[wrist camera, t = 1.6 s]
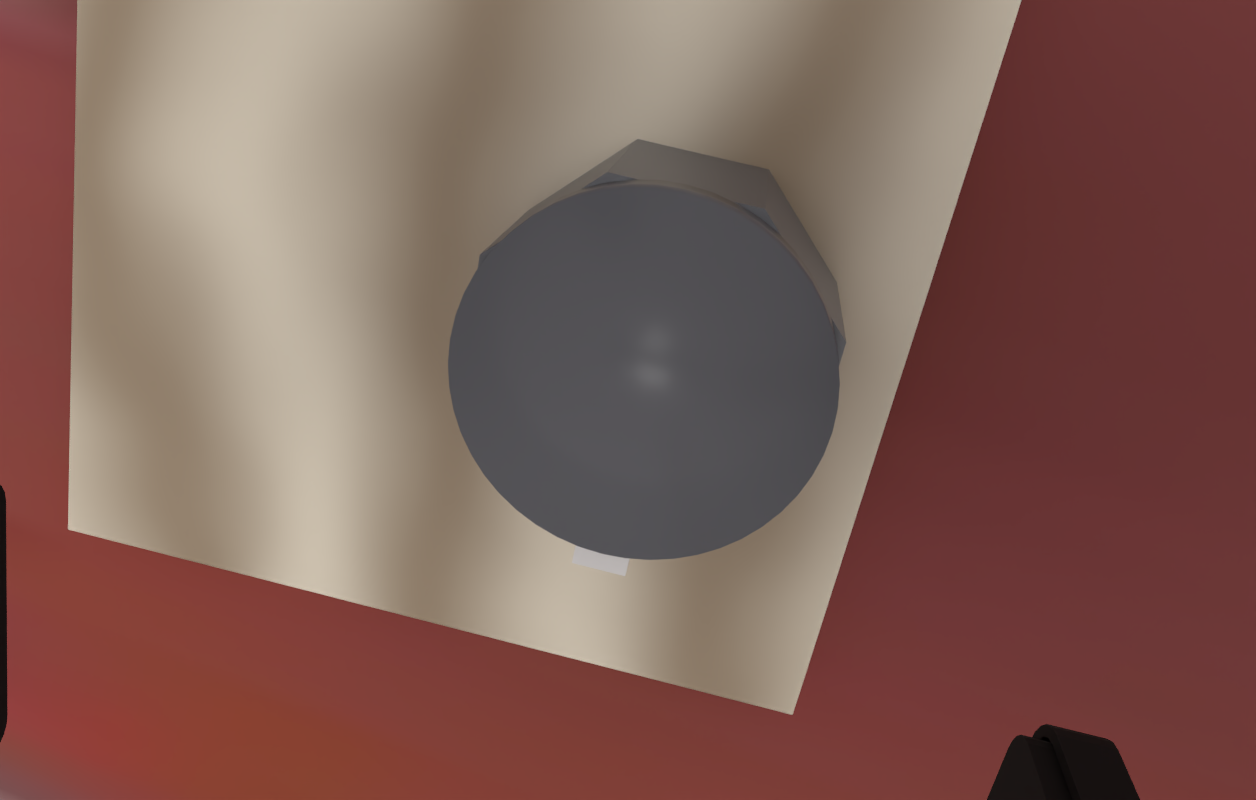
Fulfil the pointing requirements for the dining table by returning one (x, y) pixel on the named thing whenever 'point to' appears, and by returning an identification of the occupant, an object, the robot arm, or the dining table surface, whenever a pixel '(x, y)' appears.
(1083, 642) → the dining table surface
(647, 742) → the dining table surface
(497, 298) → the cap
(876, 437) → the board
